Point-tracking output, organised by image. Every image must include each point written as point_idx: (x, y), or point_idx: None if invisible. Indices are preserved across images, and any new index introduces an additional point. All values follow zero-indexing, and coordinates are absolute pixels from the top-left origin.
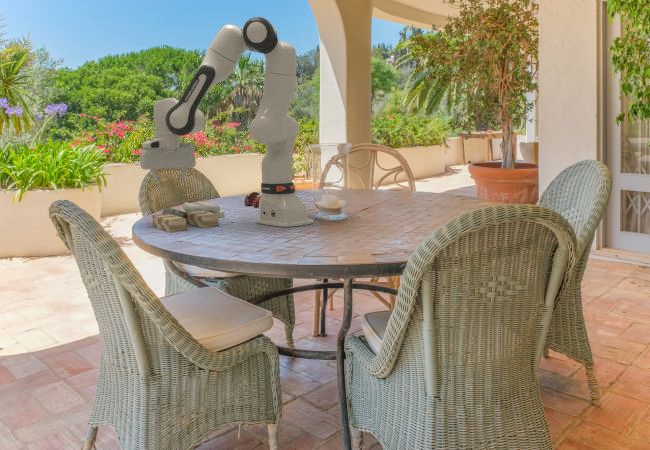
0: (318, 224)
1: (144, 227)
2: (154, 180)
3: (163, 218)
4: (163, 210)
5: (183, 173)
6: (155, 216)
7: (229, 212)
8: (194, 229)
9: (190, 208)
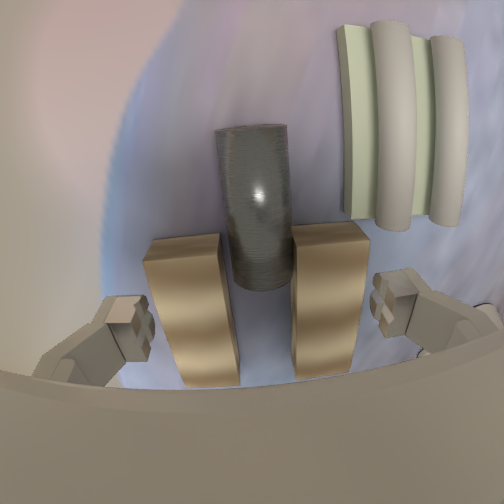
0: None
1: (123, 246)
2: (106, 299)
3: (173, 351)
4: (223, 133)
5: (420, 344)
6: (151, 292)
7: (496, 124)
8: (261, 359)
9: (380, 118)
